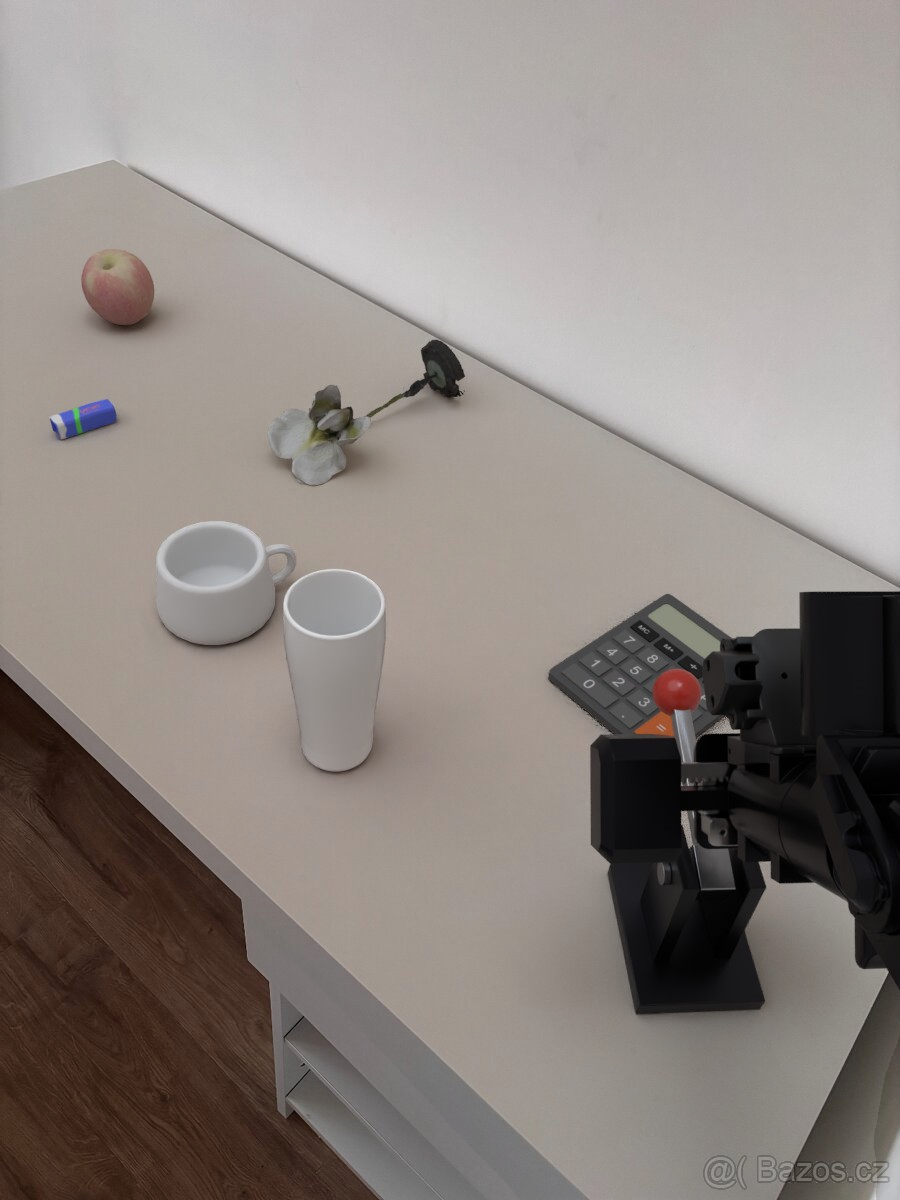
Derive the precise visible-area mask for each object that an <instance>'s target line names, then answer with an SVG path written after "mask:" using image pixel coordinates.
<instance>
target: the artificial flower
mask: <svg viewBox="0 0 900 1200" xmlns="http://www.w3.org/2000/svg"><path fill="white" fill-rule="evenodd" d="M420 354H421V360H422V362H423V365H424V369H425V372H424V373H422V375H423V378H422V379H417V380H415V381H414V382H413V383H412V384H411V385H410V386H409V389H408V390H405V391H404V392H403V393H399V394H397V395H395V396H394V397H392V398H391V399H390V400H388V401H387V402H386V403H384V404H383V405H382V406H378V407H377V408H375V409H374V410H371V411H369V412H368V413H366V415H363V416H359V417H357V418H354V409H353V407H352V406H346V407H342V394H341V391H340V388H339V387H338V384H337V385H335V384H329V385H327V386H324V388H322V389H320V390H317V391H315V393H314V395H313V397H312V398H311V399H312V400H311V402H310V404H309V408H308V409H309V410H308V412H306V411H305V410H304V409H299V408H288V409H286V410H284V411H283V413H282V414H281V415H280V416H279V417H276V418H274V419H272V421H270V424H269V428H268V433H267V440H268V443H269V446H270V449H271V451H272V453H273V454H274V455H275V456H276V457H279V458H281V459H285V460H287V459H288V460H291V462H292V464H291V473H292V474H293V475H294V476H295V479H296V481H297V482H298V483H300V484H302V485H303V484H304V483H305V484H307V485H308V486H312V487H315V486H319V485H324V484H326V483H327V482H328V481H329V480H331V478H332V477H333V476H334V475H336V474H339V473H341V472H342V471H344V470H345V468H346V466H347V458H346V455H345V454H344V452H343V449H342V447H341V446H347V445H352V444H354V443H355V442H356V441H357V440H358V439H360V438H361V437H362V436H363V435H364V434H365V432H366V431H367V430H368V429H369V428H370V426H371V422H372V419H371V418H372V417H374V416H375V415H377V414H378V413H381V412H382V411H383V410H384V409H386V408H388V407H389V406H390V405H393V404H395V403H396V402H397V401H400V400H401V399H403V398H409V397H415V396H416V395H417V394H418V393H419V392H421V390H424V389H425V387H426V385H428V386H429V387H430V389H431V390H433V391H438V392H439V393H440V394H441V395H443V396H444V397H445V398H447V399H449V398H457V397H462V396H463V395H464V393H465V392H466V391H465V390H463V391H462V390H460V385H459V384H458V383H456V382H459V381H461V380H463V379H464V378H465V377H466V374H465V372H464V368H462V364H461V361H460V360H459V359H458V356H457V355H456V354H455V352H454V351H453V349H452V348H450V346H448V344H446V343H445V342H444V341H442V340H439V339H431V340H429V341H427V343H426V344H425V345H424V346H422V347H421V349H420ZM402 389H405V388H404V387H402Z"/></svg>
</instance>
